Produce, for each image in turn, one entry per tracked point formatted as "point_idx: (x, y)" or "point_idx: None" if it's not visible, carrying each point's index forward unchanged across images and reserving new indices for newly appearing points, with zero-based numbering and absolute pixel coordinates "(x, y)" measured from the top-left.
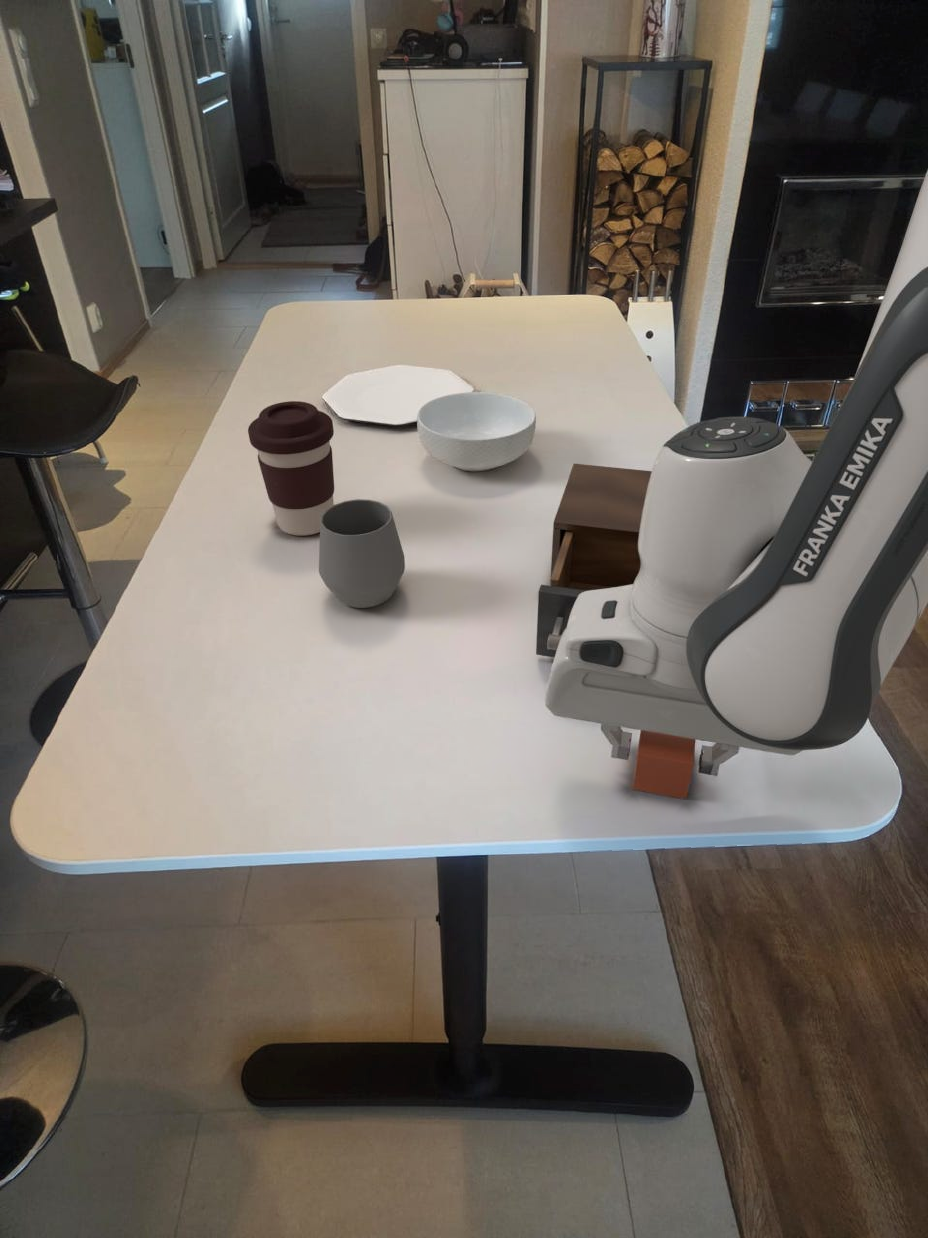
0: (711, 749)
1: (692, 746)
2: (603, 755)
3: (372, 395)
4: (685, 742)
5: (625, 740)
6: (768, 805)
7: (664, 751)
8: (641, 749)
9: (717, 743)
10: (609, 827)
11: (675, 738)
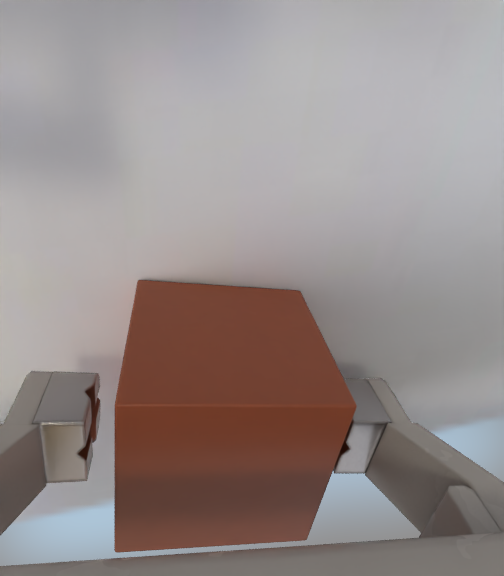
0: (379, 433)
1: (316, 492)
2: (23, 307)
3: None
4: (294, 481)
5: (61, 460)
6: (456, 383)
7: (211, 530)
8: (125, 537)
9: (409, 449)
10: (90, 492)
11: (258, 479)
